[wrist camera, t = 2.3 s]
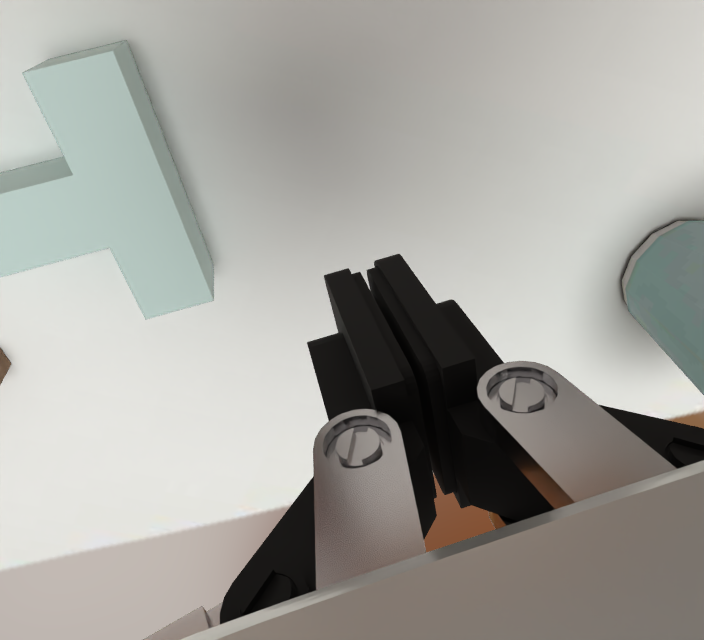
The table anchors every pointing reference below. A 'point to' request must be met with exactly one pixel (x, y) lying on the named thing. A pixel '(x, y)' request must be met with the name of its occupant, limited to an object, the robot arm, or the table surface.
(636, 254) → the disposable coffee cup
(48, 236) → the tee block
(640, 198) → the table surface
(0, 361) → the corral
